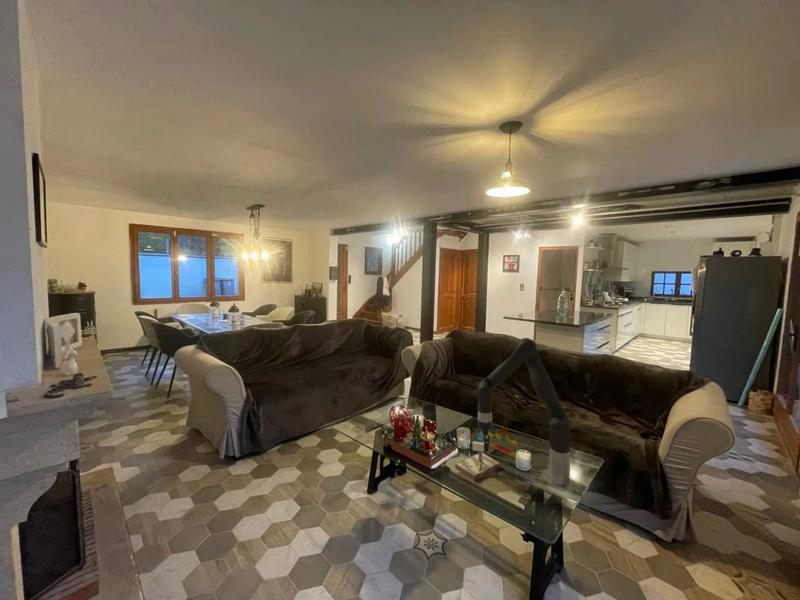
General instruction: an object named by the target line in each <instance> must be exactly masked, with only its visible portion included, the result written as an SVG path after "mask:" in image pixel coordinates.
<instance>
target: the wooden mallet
mask: <svg viewBox="0 0 800 600" xmlns="http://www.w3.org/2000/svg"><path fill="white" fill-rule="evenodd" d="M472 451H476V452H477V451H478V453H479V460H478V462H479V467H478V471H479V470H480V464H481V463H482V462H483V460H482V453H485V452H484V443H482V442H478V441H474V440H473V441H472Z"/></svg>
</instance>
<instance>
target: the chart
mask: <svg viewBox="0 0 800 600" xmlns="http://www.w3.org/2000/svg"><path fill="white" fill-rule="evenodd" d="M488 432H489V438H493V437H494V436H495V437H496V438H497V440H498V441H499V440H501V439H502V437H503V435H504V437H505V440H506V441H507V442H508V443H510V444H513V445H514V447H515V449H516V451H514V450H512V449H510V448H506V447H504V446H502V445H500V444H498V443H495V442H493V441H491V440H489V446H488V448H489V447H490V448H492V449H495V450H497V451H498V452H501V453H502V454H505V455H508V456H510V457H512V458H514V459H516V458H515V452H517V451H518V450H520V451H521V449H520V447H519V444H518V442H517V441H516V440H513V439H511V438H510V437H509V434H508V432H507V429H506V427H505V426H504V427H502V428H501V430H500V434H499V433H498V432H497V433H495V434H493V433H492V432H490V431H488ZM477 436H478V437H476V442H482V436H481V432H478V433H477ZM486 443H487V442H486Z"/></svg>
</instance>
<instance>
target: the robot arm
mask: <svg viewBox="0 0 800 600" xmlns="http://www.w3.org/2000/svg"><path fill="white" fill-rule="evenodd" d="M523 363H525V364H526V366H527V370H528V373H529V377H530V380H531V381H530V382H531V383H532V384H531V385H533V389H534V391H535V393H536V395H537V397H538V399H539V400H540V401H541V403H542V404H543V405H544V407H545V408H546V410H547V413H548V415H549V419H550V424H549V469H548V471H549V472H548V473H549V474H548V480H549V481H550V482H551V483H552V484H554V485H556V486H561V487H564V486H567V485H570V480H571V479H570V478H571V477H570V476H571V462H570V457H571V428H572V425H571V421H570V419H569V417H568V416H567V413H566V412H565V410H564V409H563V407H562V404H561V402H560V399H559V396H558V393H557V391H556V389H555V385H554V384H553V381H552V379H551V377H550V375H549V373H548V371H547V369H546V368H545V366H544V364H543V363H542V360H541V358H540V355H539V351H538V349H537V344H536V342H535V340H533V339H531V338H528V337H524V338H521V339H520V340H519V341H518V343H517V347H516V349H515V350H514V351H513V353H512V354H511V355H510V356H509V357H508V358H507V359H506V360H504V361H502V363H500V364H499V365H498V366H497V367H496V368H495V369H494V370H493V371H492V372H491V373H489V375H487V376H486V377H485V378H483V379H482V380H481V381H480V382H479V384H478V386H477V400H478V403H477V428H479V429H480V433H481V436H482V443H484V452H483V453H488V452H489V441H490V436H489V432H490V430H491V429H492V428H493V411H492V390H493V389H494V388H496V386H499V385H501V384H503V382H504V381H505V380H506V379H507V378H508V377H510V375H511V374H512V373H513V372H514V371H515V370H516V369H517V368H519V367H520V366H521V365H522V364H523ZM486 442H487V443H486Z"/></svg>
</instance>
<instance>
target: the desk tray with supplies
mask: <svg viewBox="0 0 800 600" xmlns="http://www.w3.org/2000/svg"><path fill="white" fill-rule="evenodd" d="M478 460H479V452H477V453H475V454H473V455H471V456H469V457H467V458H465V459H463V460H460V461H458V462H456V463H455V466H454V467H455V469H456V470H457V471H459V472H460V473H462V474H463V475H465V476H466V477H468V478H469V479H470V480H472V481H473V482H476V481H477V480H479V479H481V478H483V477H485V476H487V475H490V473H492V472H494V471H496V470H498V469H500V468H501V463H500V461H497V460H496V459H494V458H492V457H491V456H489V455H487V454H486V453H485V452H482V460H483V462H482V463H481V464H480V470H479V471H478V467H479V462H478Z"/></svg>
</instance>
